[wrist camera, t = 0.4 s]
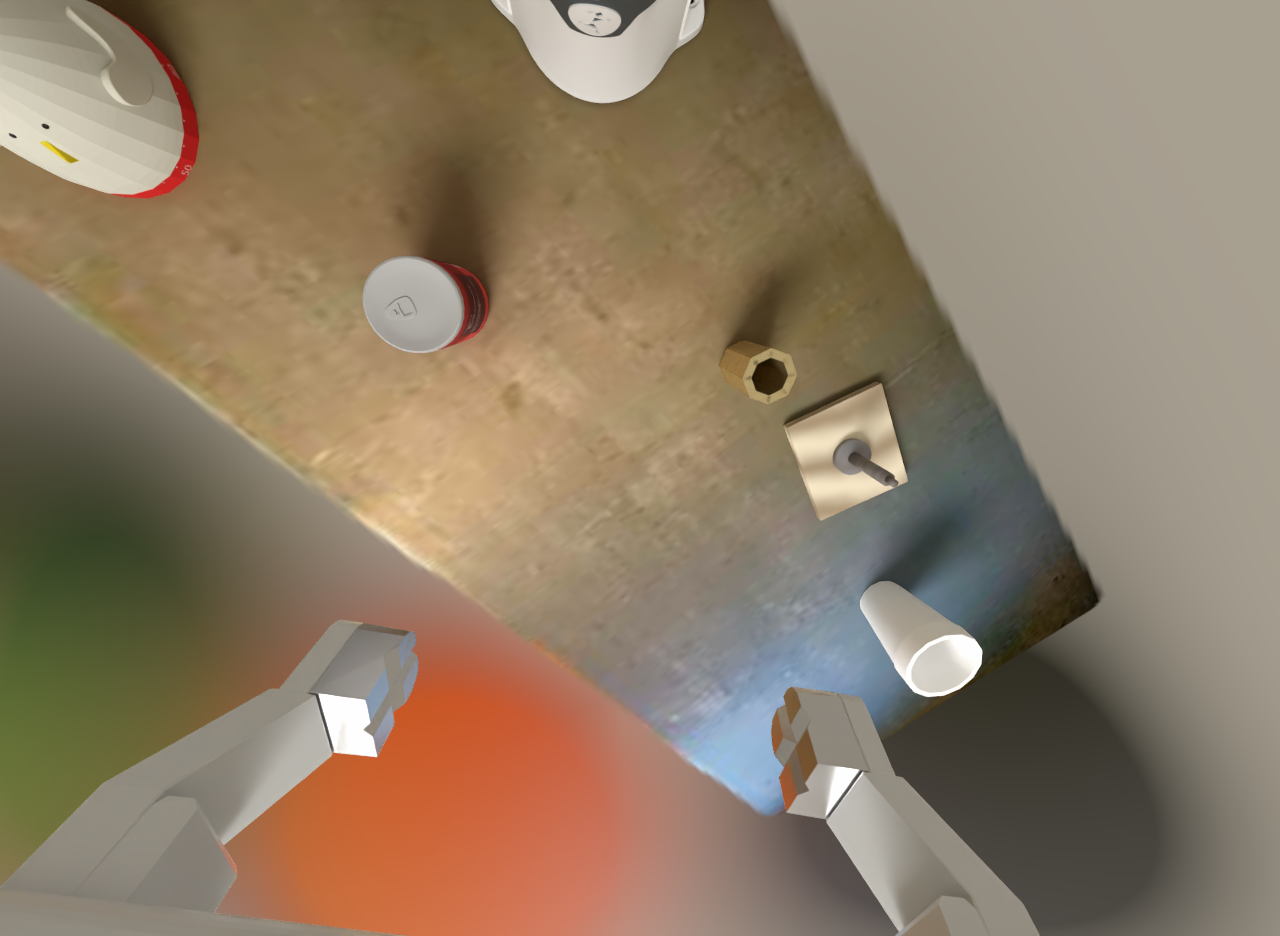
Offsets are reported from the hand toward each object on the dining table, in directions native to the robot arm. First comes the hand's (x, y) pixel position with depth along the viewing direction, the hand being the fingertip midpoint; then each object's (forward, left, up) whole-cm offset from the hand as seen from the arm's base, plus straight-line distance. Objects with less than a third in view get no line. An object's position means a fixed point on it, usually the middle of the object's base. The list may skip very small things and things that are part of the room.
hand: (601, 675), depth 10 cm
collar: (-2, +17, -45) cm, 48 cm away
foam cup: (+30, +42, -45) cm, 69 cm away
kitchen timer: (-20, -43, -45) cm, 66 cm away
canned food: (-6, -15, -45) cm, 48 cm away
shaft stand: (+8, +32, -45) cm, 55 cm away
